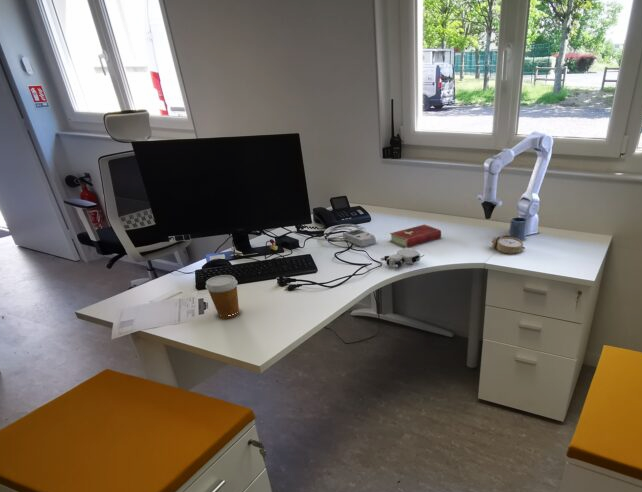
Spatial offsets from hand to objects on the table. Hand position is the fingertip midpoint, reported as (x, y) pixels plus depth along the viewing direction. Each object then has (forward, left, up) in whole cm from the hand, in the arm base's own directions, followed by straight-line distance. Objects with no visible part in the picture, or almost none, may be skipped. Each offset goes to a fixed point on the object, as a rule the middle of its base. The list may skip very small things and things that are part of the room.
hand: (487, 218), depth 208 cm
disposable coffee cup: (+121, +13, -10) cm, 122 cm away
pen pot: (-12, +8, -9) cm, 17 cm away
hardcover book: (+29, -16, -10) cm, 35 cm away
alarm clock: (+2, +16, -10) cm, 18 cm away
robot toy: (+50, +6, -10) cm, 51 cm away
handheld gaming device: (+52, -28, -10) cm, 60 cm away
